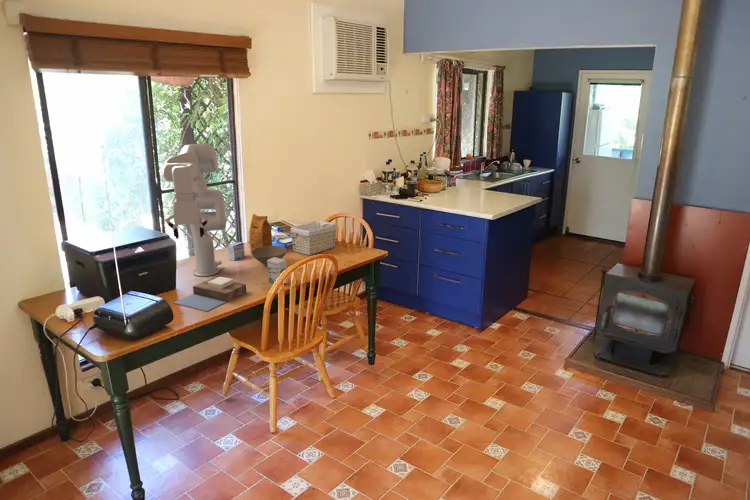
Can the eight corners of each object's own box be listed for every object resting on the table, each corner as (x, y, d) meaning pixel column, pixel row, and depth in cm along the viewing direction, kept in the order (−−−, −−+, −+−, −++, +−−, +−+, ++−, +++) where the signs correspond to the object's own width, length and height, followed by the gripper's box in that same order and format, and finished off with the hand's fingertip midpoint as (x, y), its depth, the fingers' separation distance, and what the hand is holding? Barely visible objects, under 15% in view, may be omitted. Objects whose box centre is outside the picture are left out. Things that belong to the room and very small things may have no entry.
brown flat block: (214, 285, 250) (213, 277, 248) (246, 292, 241) (245, 284, 240) (193, 294, 239) (192, 286, 237) (226, 302, 230) (225, 293, 229)
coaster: (220, 280, 245) (220, 276, 244) (233, 283, 241) (233, 279, 240) (208, 286, 238) (207, 281, 237) (221, 288, 234) (220, 284, 234)
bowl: (269, 272, 267) (268, 257, 265) (244, 266, 277) (243, 251, 274) (294, 262, 282) (293, 248, 279) (269, 257, 291) (268, 243, 289)
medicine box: (234, 261, 285) (233, 246, 283) (228, 259, 287) (227, 244, 285) (245, 257, 292) (243, 242, 289) (239, 256, 294) (238, 241, 291)
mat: (193, 294, 238) (193, 293, 238) (226, 302, 230) (226, 301, 229) (173, 303, 229) (173, 302, 229) (207, 311, 220) (207, 310, 220)
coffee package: (260, 248, 309) (258, 211, 302) (275, 251, 301) (272, 214, 295) (247, 252, 301) (244, 215, 295) (261, 256, 294) (259, 218, 287)
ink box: (268, 282, 253) (266, 259, 250) (275, 279, 257) (273, 256, 254) (280, 285, 249) (279, 262, 245) (288, 282, 253) (286, 259, 249)
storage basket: (318, 242, 319) (318, 219, 315) (338, 247, 310) (338, 223, 305) (290, 252, 301) (288, 227, 297) (310, 257, 292) (309, 231, 287)
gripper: (207, 193, 217) (211, 233, 222) (163, 195, 213) (168, 236, 218) (206, 197, 210) (210, 238, 215) (160, 199, 206) (166, 241, 211)
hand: (189, 237), depth 216 cm, fingers open, 9 cm apart
